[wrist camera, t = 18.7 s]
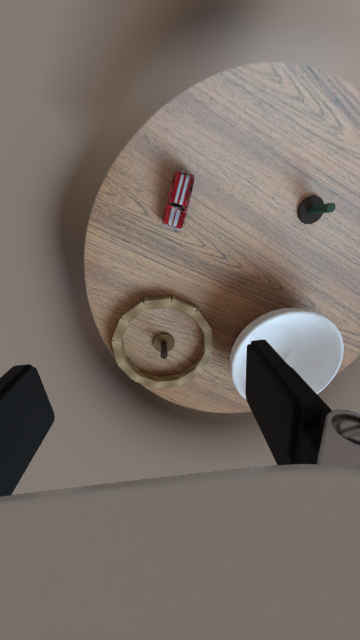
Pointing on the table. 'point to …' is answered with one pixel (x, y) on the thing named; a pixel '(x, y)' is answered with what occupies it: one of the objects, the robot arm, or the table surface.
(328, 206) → the green peg
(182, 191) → the toy car
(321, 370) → the bowl
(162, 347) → the walnut peg
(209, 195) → the table surface
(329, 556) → the robot arm
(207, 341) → the ring
